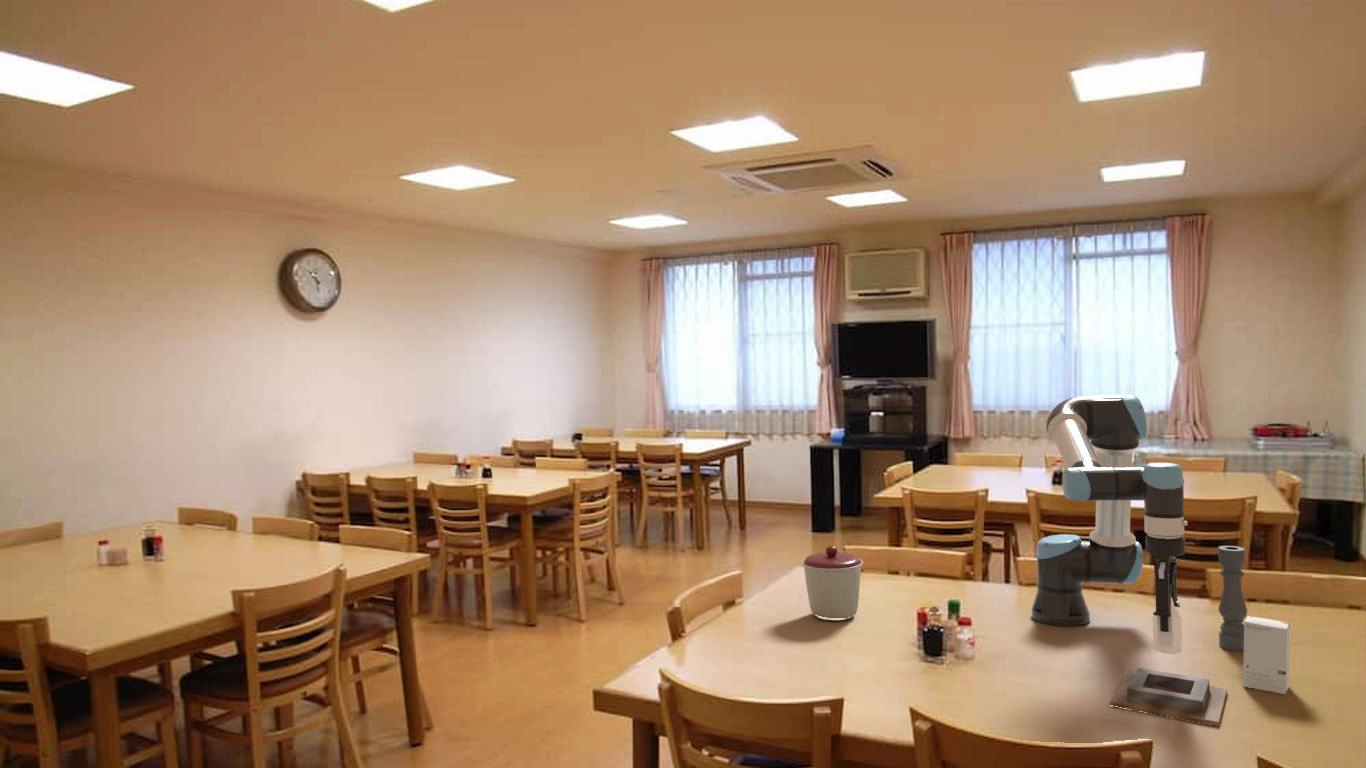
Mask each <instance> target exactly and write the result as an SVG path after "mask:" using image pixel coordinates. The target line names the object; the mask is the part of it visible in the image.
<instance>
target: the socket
mask: <svg viewBox="0 0 1366 768" xmlns="http://www.w3.org/2000/svg"><path fill="white" fill-rule="evenodd" d="M1226 694H1227V695H1228V688H1224V687H1219V686H1213V685H1211V684H1210V679H1209V678H1203V677H1197V676H1189V675H1184V674H1177V673H1171V672H1166V671H1159V670H1153V669H1147V668H1139V667H1137V669H1136V671H1135V673H1132V672H1127V671H1126V672H1125V674H1124V675H1123V678H1122V679H1121V681H1120V682H1119V685H1117V688H1116V690H1115V692H1114V693H1113V695H1112V697H1111V699H1110V701H1109V706H1110V705H1113V706H1118V707H1122V708H1127V709H1131V710H1136V711H1143V712H1147V713H1152V714H1156V715H1155V716H1157V715H1162V716H1161V717H1163V716H1168V717H1173V718H1172V719H1174V718H1178V719H1177V720H1179V719H1183V720H1182V721H1184V720H1189V721H1188V722H1190V721H1194V722H1193V723H1195V722H1200V723H1199V724H1201V723H1206V724H1212V725H1217V726H1220V723H1221V719H1222V715H1221V714H1223V711H1224V707H1225V703H1226V699H1227V695H1226ZM1225 698H1226V699H1225ZM1224 702H1225V703H1224ZM1223 706H1224V707H1223ZM1131 710H1130V711H1131ZM1222 710H1223V711H1222ZM1136 711H1135V712H1136ZM1147 713H1146V714H1147ZM1152 714H1151V715H1152ZM1168 717H1167V718H1168ZM1220 718H1221V719H1220ZM1219 722H1220V723H1219ZM1206 724H1205V725H1206ZM1217 726H1216V727H1217Z"/></svg>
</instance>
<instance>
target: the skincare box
mask: <svg viewBox="0 0 1366 768" xmlns="http://www.w3.org/2000/svg"><path fill="white" fill-rule="evenodd" d="M1243 625H1244V651H1243V662H1242V663H1243V666H1242V686H1243V687H1244V688H1247V687H1248V689H1253V688H1254V689H1253V690H1259V691H1264V692H1265V691H1266V692H1271V693H1275V694H1279V695H1286V693H1287V691H1288V689H1289V686H1290V685H1289V683H1290V681H1289V680H1290V679H1289V678H1290V677H1289V676H1290V675H1289V674H1290V673H1289V672H1290V643H1291V642H1290V641H1291V639H1290V636H1291V635H1290V633H1291V624H1290V622H1285V621H1281V620H1274V619H1270V618H1263V617H1257V616H1256V617H1255V616H1249V615H1248V616H1247V615H1246V617H1245V619H1244V622H1243Z"/></svg>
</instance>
